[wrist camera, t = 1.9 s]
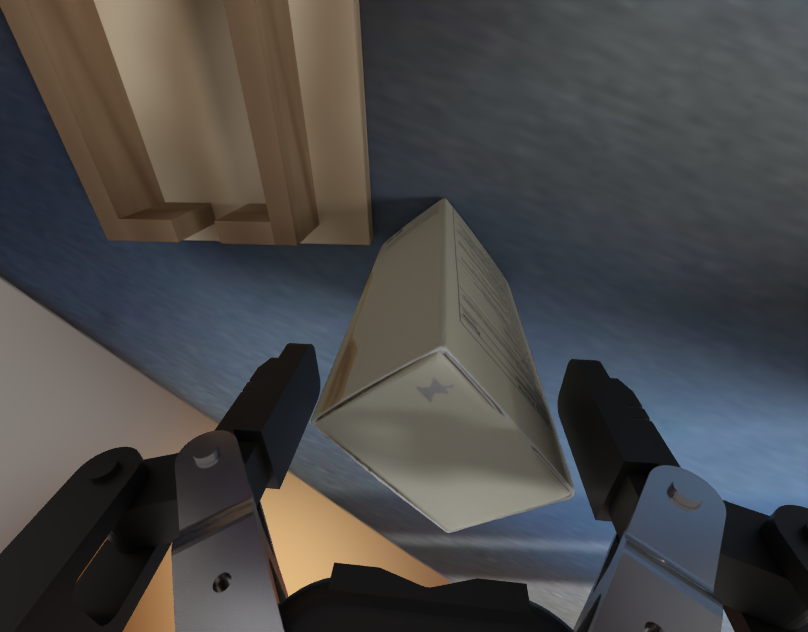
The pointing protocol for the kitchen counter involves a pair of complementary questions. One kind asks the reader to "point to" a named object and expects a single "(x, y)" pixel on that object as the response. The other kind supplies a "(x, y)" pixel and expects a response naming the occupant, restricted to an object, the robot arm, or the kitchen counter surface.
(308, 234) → the frame
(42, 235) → the kitchen counter surface
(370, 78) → the kitchen counter surface
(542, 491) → the skincare box
